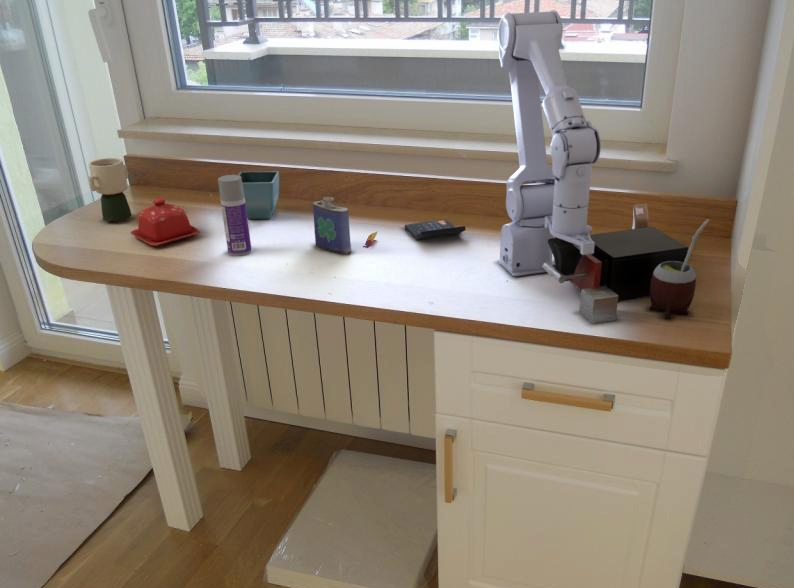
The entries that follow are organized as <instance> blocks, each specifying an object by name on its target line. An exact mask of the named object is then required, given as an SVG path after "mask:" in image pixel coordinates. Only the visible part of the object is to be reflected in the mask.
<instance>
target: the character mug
mask: <svg viewBox="0 0 794 588" xmlns="http://www.w3.org/2000/svg"><path fill="white" fill-rule="evenodd" d="M88 168H89V173H90V175H89V176H88V179H87V180H88V183H89V188H90V190H91V191H92V192H95V193H97V194H99V195H101V196H100V204H101V214H102V215H101V216H102V220H103V221H111V222H113V223H114V222H117V221H119V222H120V221H126V220H128V219H131V218H132V216H133V214H132V211H131V207H130V205H129V202H128V199H127V197H126V194H125V193H124V192H125V191H127V190H128V188H129V184H128V179H129V172H128V167H127V165H126V164H124V161H123V159H122V158H118V157H107V158H106V157H105V158H99V159H95V160H91V161H90V162H89V163H88Z"/></svg>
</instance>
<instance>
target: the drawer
mask: <svg viewBox="0 0 794 588" xmlns="http://www.w3.org/2000/svg"><path fill="white" fill-rule="evenodd" d="M611 262H612V260H611V259H610V258H608V257H607V256H606V255H604V254H603V253H601V252H600V251H599V250H597V249H596V248H594V253H593V254H587V255H582V257H581V258H580V260H579V262H578V265H577V267H576V270H575V273H574V274H572V275H566V276H564V275H563V274H562V273H561V272H559V271H558V270H557V269H556V266H555V264H550V263H548V262H545V263H544V264H543V266H542V267H543V269H544V270H545V271H546V272H545V273H548V275H550V276H551V277H552V278H554V280H555V281H556V282H558V283H559V284H564V283H566V282H567V281H566V280H569V279H572V280H571V281H570V282H571V283H572V284H573V285H574V286H575V287H576V288H578V289H579V290H580V291H581V289H585V288H592V287H598V286H607V287H608V288H609V281H610V271H611Z"/></svg>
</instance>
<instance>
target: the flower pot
mask: <svg viewBox="0 0 794 588" xmlns="http://www.w3.org/2000/svg"><path fill="white" fill-rule="evenodd" d="M238 175H239V176H241V179H242V185H243V191H244V197H245V204H246V211H247V219H248V220H269V219H272V216H273V214H274V212H275V209H276V207H277V205H278V200H279V197H280V171H278V170H274V171H272V170H271V171H269V170H268V171H240V172H239V173H238Z"/></svg>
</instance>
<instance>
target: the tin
mask: <svg viewBox="0 0 794 588" xmlns="http://www.w3.org/2000/svg"><path fill="white" fill-rule="evenodd" d="M632 215H633V216H632V224H631V225H632V226H631V229H638V228H646V227H650V215H649V209H648V203H647V202H646V203H636V204H633V205H632Z"/></svg>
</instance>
